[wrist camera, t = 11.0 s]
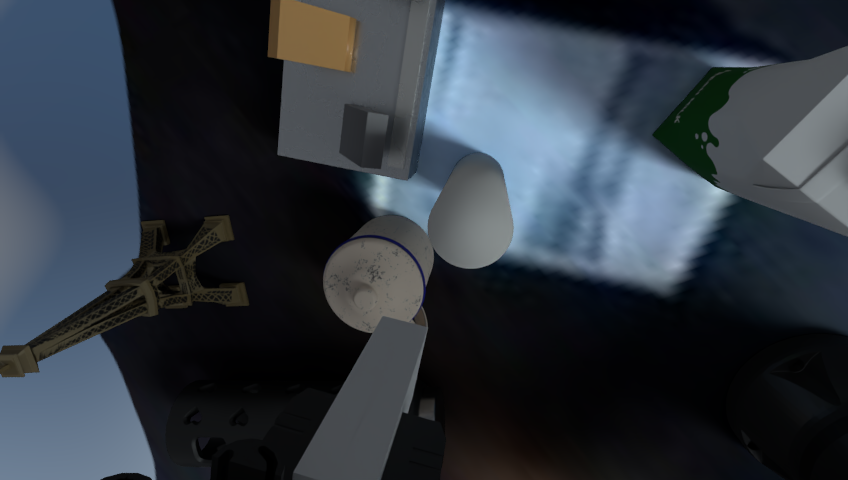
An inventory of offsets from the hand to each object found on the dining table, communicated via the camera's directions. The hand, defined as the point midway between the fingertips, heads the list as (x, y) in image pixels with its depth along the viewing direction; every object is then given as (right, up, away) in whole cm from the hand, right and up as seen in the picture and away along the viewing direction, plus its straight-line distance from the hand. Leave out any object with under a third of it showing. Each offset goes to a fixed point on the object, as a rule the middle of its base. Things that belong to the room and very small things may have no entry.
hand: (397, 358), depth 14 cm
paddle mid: (-5, +20, +22) cm, 30 cm away
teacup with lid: (-2, +1, +33) cm, 33 cm away
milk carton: (+26, +14, +25) cm, 39 cm away
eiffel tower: (-25, +1, +36) cm, 44 cm away
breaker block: (-4, +21, +27) cm, 34 cm away
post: (+6, +10, +29) cm, 31 cm away
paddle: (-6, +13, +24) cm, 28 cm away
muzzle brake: (-10, -14, +39) cm, 43 cm away
